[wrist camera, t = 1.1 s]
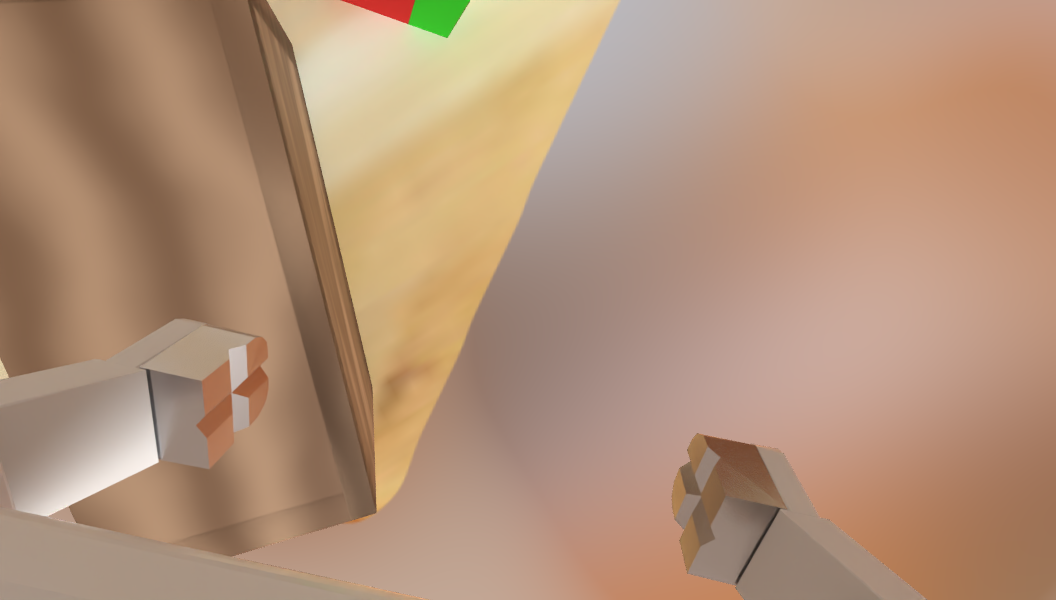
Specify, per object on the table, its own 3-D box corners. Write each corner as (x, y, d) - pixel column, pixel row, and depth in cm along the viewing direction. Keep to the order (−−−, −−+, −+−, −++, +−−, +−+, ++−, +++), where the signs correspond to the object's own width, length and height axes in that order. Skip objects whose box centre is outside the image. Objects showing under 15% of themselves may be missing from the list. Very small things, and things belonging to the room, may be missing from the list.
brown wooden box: (210, 426, 44) (108, 593, 27) (82, 57, 36) (-189, -52, 18) (372, 387, 48) (376, 512, 30) (291, 44, 39) (232, -58, 22)
